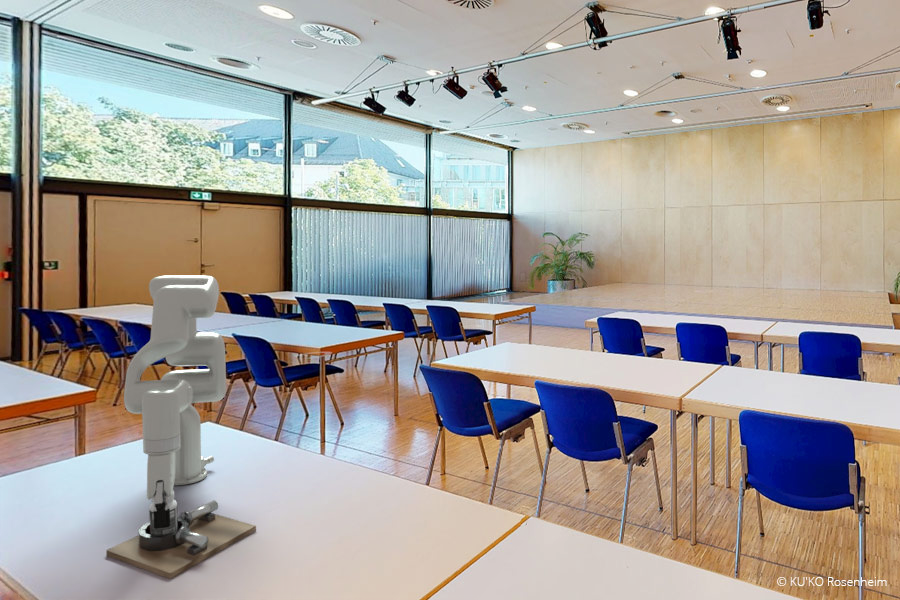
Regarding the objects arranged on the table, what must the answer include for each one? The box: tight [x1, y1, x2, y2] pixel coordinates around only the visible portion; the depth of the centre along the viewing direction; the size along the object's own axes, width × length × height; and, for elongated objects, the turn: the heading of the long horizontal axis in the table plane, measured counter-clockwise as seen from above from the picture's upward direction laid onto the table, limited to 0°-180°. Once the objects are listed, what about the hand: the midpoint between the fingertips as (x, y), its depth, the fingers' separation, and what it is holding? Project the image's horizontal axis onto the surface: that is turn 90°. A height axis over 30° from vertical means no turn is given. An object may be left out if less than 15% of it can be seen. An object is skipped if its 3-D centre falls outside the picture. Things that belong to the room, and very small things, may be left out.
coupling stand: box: [106, 500, 257, 580], centre depth 139 cm, size 24×20×6 cm
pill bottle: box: [148, 490, 179, 535], centre depth 137 cm, size 6×6×10 cm
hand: (163, 520), depth 137 cm, fingers closed on pill bottle, 5 cm apart
